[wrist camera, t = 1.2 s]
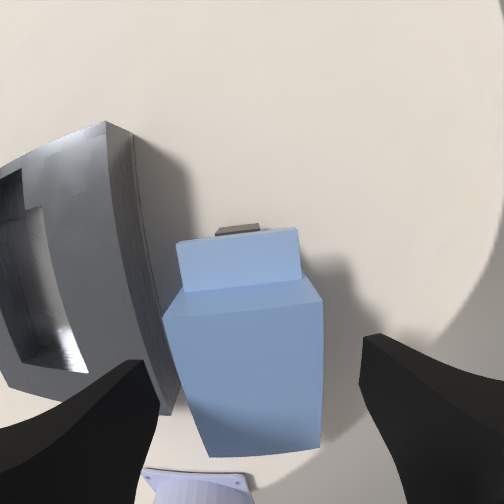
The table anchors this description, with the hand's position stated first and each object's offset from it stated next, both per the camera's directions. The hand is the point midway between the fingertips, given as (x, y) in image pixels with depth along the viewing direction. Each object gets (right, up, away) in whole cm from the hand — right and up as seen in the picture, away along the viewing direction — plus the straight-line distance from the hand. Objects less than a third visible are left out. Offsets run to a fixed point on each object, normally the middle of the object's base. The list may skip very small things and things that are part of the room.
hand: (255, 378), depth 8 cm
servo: (0, +1, +4) cm, 4 cm away
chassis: (-10, +2, +3) cm, 11 cm away
